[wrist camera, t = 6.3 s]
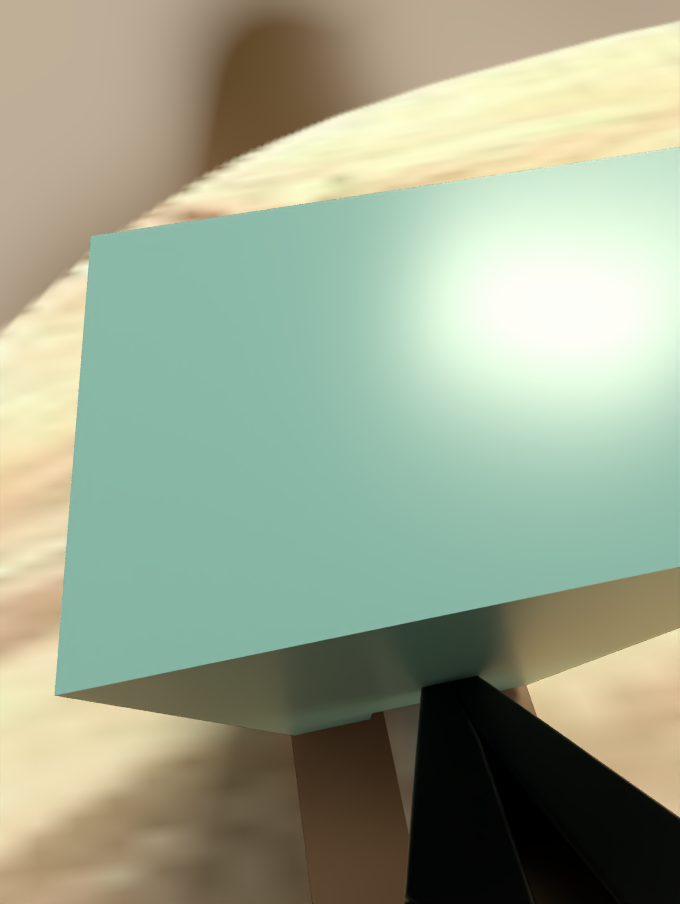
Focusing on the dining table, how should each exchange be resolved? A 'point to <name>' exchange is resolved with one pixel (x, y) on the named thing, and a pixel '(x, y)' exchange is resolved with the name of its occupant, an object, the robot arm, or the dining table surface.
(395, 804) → the wooden stand
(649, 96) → the dining table surface
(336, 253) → the notched teal tower
